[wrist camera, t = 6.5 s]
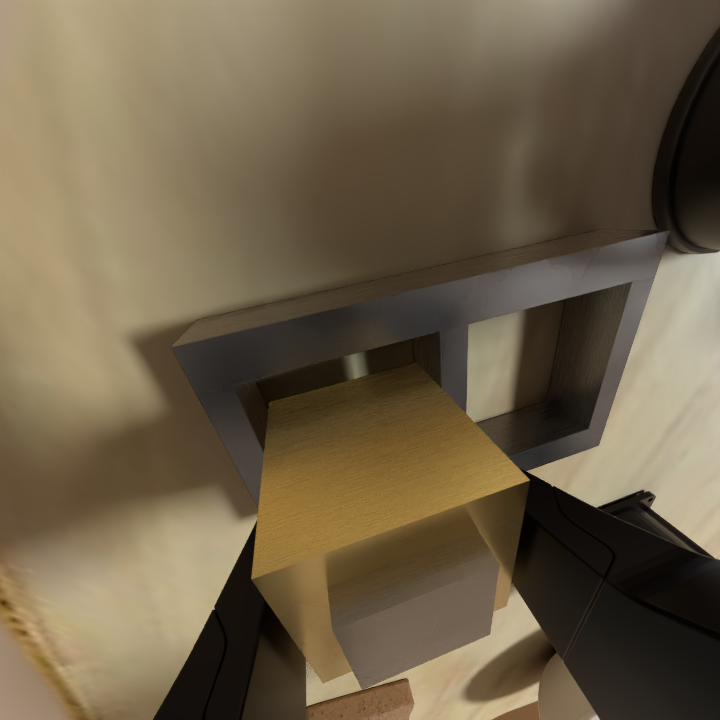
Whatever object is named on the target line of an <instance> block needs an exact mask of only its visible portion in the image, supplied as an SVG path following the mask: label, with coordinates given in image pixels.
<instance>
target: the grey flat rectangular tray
mask: <svg viewBox="0 0 720 720" xmlns="http://www.w3.org/2000/svg"><path fill="white" fill-rule="evenodd" d="M669 232H670V230H597V231H592V232H588V233H583V234H579V235H574V236H570V237H565V238H561V239H556V240H552V241H547V242H543V243H538V244H534V245H530V246H525V247H521V248H516V249H512V250H507V251H503V252H498V253H494V254H489V255H485V256H480V257H476V258H471V259H467V260H463V261H458V262H454V263H449V264H445V265H440V266H436V267H431V268H427V269H422V270H418V271H413V272H409V273H404V274H400V275H396V276H391V277H387V278H382V279H378V280H373V281H369V282H364V283H360V284H355V285H351V286H346V287H342V288H337V289H333V290H329V291H324V292H320V293H315V294H311V295H306V296H302V297H297V298H293V299H288V300H284V301H279V302H275V303H270V304H266V305H262V306H257V307H253V308H248V309H244V310H239V311H235V312H230V313H226V314H221V315H217V316H212V317H208V318H203V319H199V320H197V321H196V322H195V323H194V324H193V325H192V326H191V327H190V328H189V329H188V330H187V331H186V332H185V333H184V334H183V335H182V336H181V337H180V338H179V339H178V340H177V341H176V342H175V343H174V344H173V346H172V347H171V348H172V350H173V352H174V354H175V356H176V358H177V360H178V361H179V363H180V365H181V367H182V369H183V371H184V372H185V374H186V376H187V378H188V380H189V382H190V383H191V385H192V387H193V389H194V391H195V393H196V395H197V396H198V398H199V400H200V402H201V404H202V406H203V407H204V409H205V411H206V413H207V415H208V417H209V418H210V420H211V422H212V424H213V426H214V428H215V430H216V431H217V433H218V435H219V437H220V439H221V441H222V442H223V444H224V446H225V448H226V450H227V452H228V454H229V455H230V457H231V459H232V461H233V463H234V465H235V466H236V468H237V470H238V472H239V474H240V476H241V477H242V479H243V481H244V483H245V485H246V487H247V489H248V490H249V492H250V494H251V496H252V498H253V500H254V501H255V503H256V505H257V507H258V508H259V498H260V488H261V478H262V468H263V458H264V449H265V439H266V429H267V419H268V410H267V408H266V405H265V403H264V400H263V398H262V395H261V393H260V390H259V388H258V385H257V383H256V381H255V379H258V378H262V377H266V376H270V375H274V374H278V373H281V372H285V371H289V370H293V369H297V368H301V367H305V366H308V365H312V364H316V363H320V362H324V361H328V360H332V359H335V358H339V357H343V356H347V355H351V354H355V353H358V352H362V351H366V350H370V349H374V348H378V347H382V346H385V345H389V344H393V343H397V342H401V341H405V340H409V339H412V340H413V352H414V363H415V362H416V363H417V364H418V365H419V366H420V367H421V368H422V369H423V370H424V371H425V372H426V373H427V374H428V375H429V376H430V377H431V378H432V379H433V380H434V381H435V382H436V383H437V384H438V385H439V386H440V387H441V389H442V390H443V391H444V392H445V393H446V394H447V395H448V396H449V397H450V398H451V399H452V400H453V401H454V402H455V403H456V404H457V405H458V406H459V407H460V408H461V409H462V410H463V411H464V412H465V413H466V400H467V352H468V324H470V323H474V322H478V321H482V320H486V319H490V318H493V317H497V316H501V315H505V314H509V313H513V312H517V311H520V310H524V309H528V308H532V307H536V306H540V305H543V304H547V303H551V302H555V301H559V300H563V299H566V302H565V308H564V313H563V318H562V323H561V329H560V334H559V339H558V344H557V350H556V355H555V360H554V365H553V371H552V376H551V381H550V386H549V392H548V397H547V401H545V402H542V403H539V404H536V405H533V406H530V407H526V408H523V409H520V410H517V411H514V412H510V413H507V414H504V415H501V416H498V417H495V418H491V419H488V420H485V421H482V422H479V423H476V425H477V426H478V427H479V428H480V429H481V430H482V431H483V432H484V433H485V434H486V435H487V436H488V437H489V438H490V439H491V440H492V441H493V442H494V443H495V444H496V445H497V446H498V447H499V448H500V450H501V451H502V452H503V453H504V454H505V455H506V456H507V457H508V458H509V459H510V460H511V461H512V462H513V463H514V464H515V465H516V466H517V467H519V468H521V469H523V470H525V471H528V470H531V469H534V468H537V467H539V466H542V465H545V464H548V463H551V462H554V461H556V460H559V459H562V458H565V457H568V456H571V455H573V454H576V453H579V452H582V451H585V450H588V449H591V448H593V447H596V446H599V443H600V440H601V437H602V434H603V431H604V428H605V425H606V422H607V419H608V416H609V413H610V410H611V407H612V404H613V401H614V398H615V395H616V392H617V389H618V386H619V383H620V380H621V377H622V374H623V371H624V368H625V365H626V362H627V359H628V356H629V353H630V350H631V347H632V344H633V341H634V338H635V335H636V332H637V329H638V326H639V323H640V320H641V317H642V314H643V311H644V308H645V305H646V302H647V299H648V296H649V293H650V290H651V287H652V284H653V281H654V278H655V275H656V272H657V268H658V265H659V262H660V259H661V256H662V253H663V250H664V247H665V244H666V241H667V238H668V235H669Z"/></svg>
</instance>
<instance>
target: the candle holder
mask: <svg viewBox="0 0 720 720" xmlns="http://www.w3.org/2000/svg"><path fill="white" fill-rule="evenodd" d="M413 707H414V701H413V697H412V693H411V689H410V685H409V681H408V679H404V680H400V681H396V682H392V683H388V684H385V685H381V686H378V687H374V688H371V689H367V690H364V691H360V692H357V693H353V694H350V695H346V696H342V697H339V698H335V699H332V700H328V701H325V702H322V703H319V704H315V705H312V706H310V707H308V708H306V720H409V715H410V713H411V711H412V709H413Z"/></svg>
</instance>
